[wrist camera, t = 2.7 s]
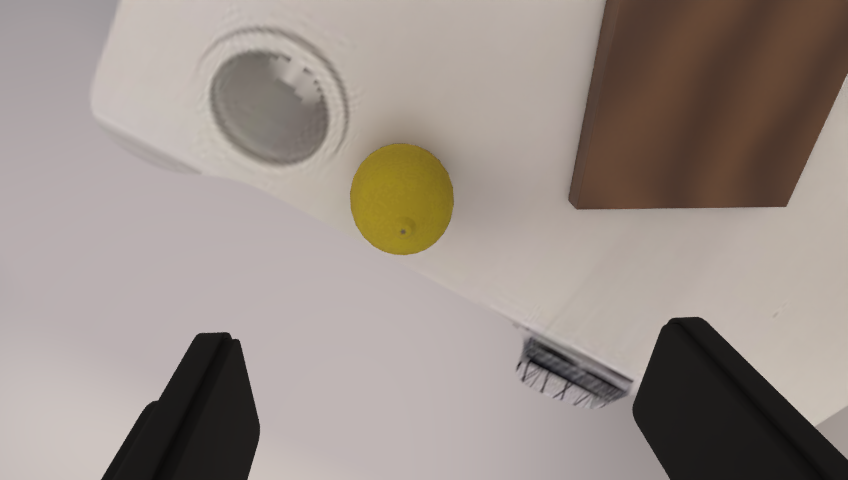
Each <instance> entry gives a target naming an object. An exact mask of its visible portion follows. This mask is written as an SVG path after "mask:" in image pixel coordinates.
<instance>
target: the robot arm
mask: <svg viewBox="0 0 848 480" xmlns="http://www.w3.org/2000/svg"><path fill="white" fill-rule="evenodd" d="M633 416H634V419H635V421H636V423H637V425H638V427H639V428H640V430H641V432H642V433H643V435H644V436H645V438H646V440H647V442H648V443H649V445H650V446H651V448H652V450H653V452H654V453H655V455H656V457H657V458H658V460H659V462H660V463H661V465H662V467H663V468H664V469H665V472H666V473H667V475H668V477H669V478H670V480H848V460H847V459H846V458H845V457H844V456H843V455H842V454H841V453H840V452H839V451H838V450H837V449H836V448H835V447H834V446H833V445H832V444H831V443H830V442H829V441H828V440H827V439H826V438H825V437H824V436H823V435H822V434H821V433H820V432H819V431H818V430H817V429H815V427H814V426H813V425H812V424H811V423H810V422H809V421H808V420H806V419H805V418H804V417H803V416H802V415H801V414H800V413H799V412H798V411H797V410H796V409H795V408H794V407H793V406H792V405H791V404H790V403H789V402H788V401H787V400H786V399H785V398H784V397H783V396H782V395H781V394H780V393H779V392H778V391H777V390H776V389H775V388H774V387H773V386H772V385H771V384H770V383H769V382H768V381H767V380H766V379H765V378H764V377H763V376H762V375H761V374H760V373H759V372H757V371H756V370H755V369H754V368H753V367H752V366H751V365H750V364H749V363H748V362H747V361H746V360H745V359H744V358H743V357H742V356H741V355H740V354H739V353H738V352H737V351H736V350H735V349H734V348H733V347H732V346H731V345H730V344H729V343H728V342H727V341H726V340H725V339H724V338H723V337H722V336H721V335H720V334H719V333H718V332H717V331H716V330H715V329H714V328H713V327H712V326H711V325H710V324H708V323H707V322H706V321H705V320H704V319H702V318H699V317H683V318H672V319H671V320H669V322H668V323H667V325H664V326H663V327H662V329H661V331H660V334H659V336H658V339H657V342H656V344H655V347H654V350H653V352H652V355H651V358H650V361H649V363H648V366H647V369H646V371H645V374H644V377H643V379H642V382H641V385H640V387H639V390H638V393H637V395H636V398H635V401H634V404H633ZM259 435H260V424H259V419H258V415H257V411H256V407H255V402H254V398H253V394H252V390H251V386H250V381H249V377H248V373H247V369H246V365H245V361H244V356H243V352H242V348H241V344H240V341H239V340H238V339H232V338H231V335H230V334H229V333H227V332H223V333H199V334H198V335H196V337H195V338H194V340H193V341H192V343H191V345H190V347H189V348H188V350H187V352H186V353H185V355H184V357H183V359H182V360H181V362H180V364H179V365H178V367H177V369H176V371H175V372H174V374H173V376H172V378H171V379H170V381H169V383H168V385H167V386H166V388H165V390H164V392H163V393H162V395H161V397H160V398H159V400H158V401H153V402H151V403H150V404H148V405H147V406H146V407H145V409H144V410H143V411H142V413H141V414H140V416H139V418H138V419H137V421H136V423H135V424H134V426H133V428H132V429H131V431H130V433H129V434H128V436H127V437H126V439H125V441H124V442H123V444H122V446H121V447H120V449H119V451H118V452H117V454H116V456H115V457H114V459H113V461H112V462H111V464H110V466H109V467H108V469H107V471H106V473H105V474H104V476H103V477H102V479H101V480H247V479H248V476H249V472H250V469H251V465H252V462H253V458H254V455H255V451H256V448H257V445H258V441H259Z"/></svg>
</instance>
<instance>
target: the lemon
mask: <svg viewBox="0 0 848 480" xmlns="http://www.w3.org/2000/svg"><path fill="white" fill-rule="evenodd" d="M350 202H351V211H352V214H353V217H354V220H355V223H356V226H357V227H358V229H359V230H360V232H361V233H362V235H363V236H364V238H365V239H367V240H368V241H369V242H370V243H371V244H372V245H373V246H374V247H376V248H378V249H380V250H382V251H384V252H387V253H391V254H396V255H408V254H415V253H418V252H420V251H423V250H425V249H427V248H429V247H430V246H431V245H433V244H434V243H435V242H436V241H437V240H438V239H439V238H440V237H441V236H442V235H443V234H444V232H445V230H446V228H447V226H448V224H449V222H450V219H451V215H452V210H453V205H454V198H453V186H452V184H451V181H450V178H449V175H448V172H447V171H446V170H445V168H444V167H443V165H442V164H441V162H440V161H439V160H438V159H437V158H436V157H435V156H433V155H432V154H431V153H430V152H429V151H427V150H425V149H423V148H421V147H419V146H415V145H410V144H392V145H388V146H385V147H381V148H380V149H378V150H376V151H375V152H373V153H371V154H370V155H369V156H368V157H367V158H366V159H365V160H364V161H363V162H362V163H361V165H360V167H359V168H358V170H357V172H356V174H355V176H354V178H353V182H352V186H351V191H350Z"/></svg>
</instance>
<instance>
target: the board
mask: <svg viewBox="0 0 848 480" xmlns="http://www.w3.org/2000/svg"><path fill="white" fill-rule="evenodd" d="M847 73H848V0H607V1H606V6H605V11H604V17H603V22H602V27H601V32H600V37H599V43H598V48H597V53H596V58H595V64H594V69H593V74H592V79H591V84H590V90H589V95H588V100H587V105H586V111H585V116H584V121H583V126H582V131H581V137H580V142H579V147H578V152H577V158H576V163H575V168H574V173H573V178H572V184H571V189H570V194H569V199H568V200H569V202H570V203H571V204H572V205H573V206H574V207H575V208H576V209H651V208H730V207H786V206H787V204H788V202H789V200H790V197H791V195H792V193H793V191H794V189H795V186H796V184H797V182H798V180H799V178H800V176H801V173H802V171H803V169H804V167H805V165H806V163H807V160H808V158H809V156H810V154H811V152H812V149H813V147H814V145H815V143H816V141H817V139H818V136H819V134H820V132H821V130H822V128H823V126H824V123H825V121H826V119H827V117H828V115H829V113H830V110H831V108H832V106H833V104H834V102H835V99H836V97H837V95H838V93H839V91H840V89H841V86H842V84H843V82H844V80H845V78H846V76H847Z"/></svg>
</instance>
